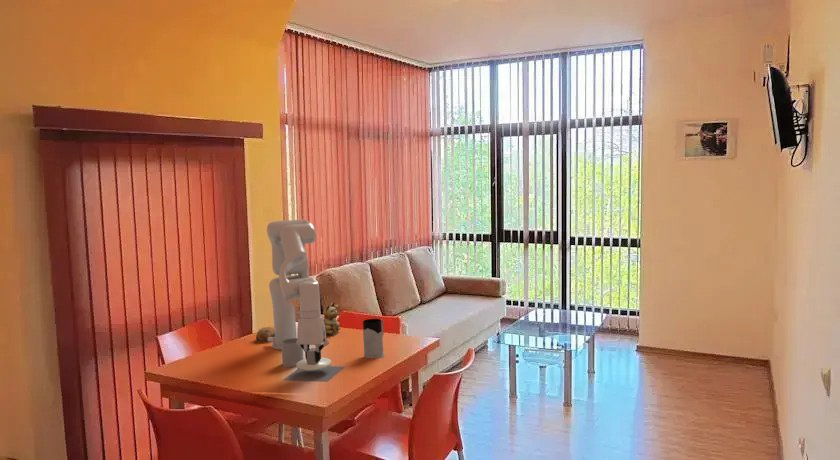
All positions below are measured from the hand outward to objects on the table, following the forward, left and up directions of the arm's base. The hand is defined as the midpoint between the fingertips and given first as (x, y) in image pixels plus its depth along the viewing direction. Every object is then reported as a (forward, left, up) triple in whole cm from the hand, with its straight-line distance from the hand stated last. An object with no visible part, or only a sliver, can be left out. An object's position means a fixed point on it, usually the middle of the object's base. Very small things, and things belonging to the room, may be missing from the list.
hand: (313, 360), depth 240 cm
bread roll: (-45, +48, -6) cm, 66 cm away
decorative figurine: (-18, +61, -6) cm, 63 cm away
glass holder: (+16, +28, -6) cm, 32 cm away
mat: (0, 0, -5) cm, 5 cm away
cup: (-14, +11, -6) cm, 18 cm away
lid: (0, 0, -2) cm, 2 cm away
